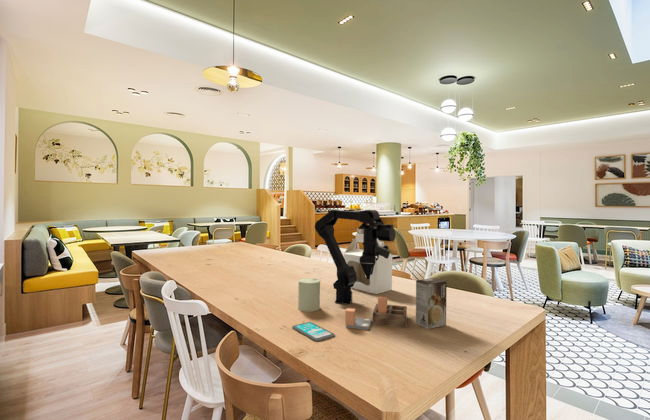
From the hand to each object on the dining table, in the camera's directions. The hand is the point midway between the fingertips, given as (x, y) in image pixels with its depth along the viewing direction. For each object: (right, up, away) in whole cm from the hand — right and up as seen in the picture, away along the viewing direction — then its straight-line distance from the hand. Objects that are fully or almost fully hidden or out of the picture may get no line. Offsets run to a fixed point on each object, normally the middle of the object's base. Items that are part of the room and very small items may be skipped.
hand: (369, 276), depth 138 cm
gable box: (+3, -13, +33) cm, 36 cm away
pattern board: (-6, -13, -20) cm, 25 cm away
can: (-25, -13, -1) cm, 29 cm away
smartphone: (-23, -14, -27) cm, 38 cm away
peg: (+2, -12, -17) cm, 21 cm away
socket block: (+6, -13, -15) cm, 21 cm away
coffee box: (+20, -14, -18) cm, 30 cm away
